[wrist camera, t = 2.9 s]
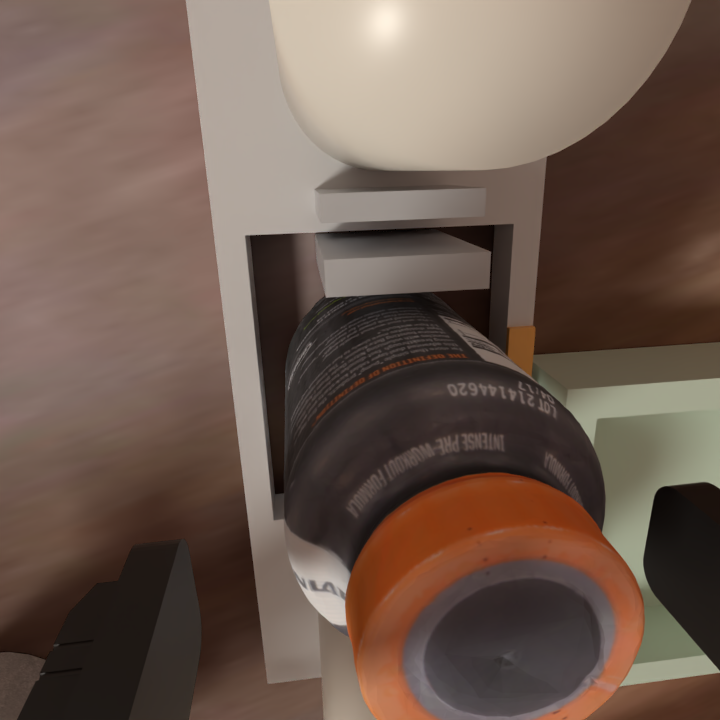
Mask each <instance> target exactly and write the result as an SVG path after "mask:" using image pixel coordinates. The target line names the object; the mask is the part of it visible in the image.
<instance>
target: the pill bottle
mask: <svg viewBox="0 0 720 720" xmlns="http://www.w3.org/2000/svg"><path fill="white" fill-rule="evenodd" d="M285 373H286V379H285V452H284V456H285V458H284V463H285V464H284V531H285V540H286V547H287V552H288V556H289V560H290V563H291V566H292V569H293V572H294V574H295V577H296V579H297V581H298V583H299V585H300V587H301V589H302V591H303V592H304V594H305V595H306V597H307V599H308V600H309V602H310V603H311V604H312V605H313V606H314V607H315V608H316V610H317V611H318V612H319V613H320V614H321V615H322V616H324V617H325V618H326V619H327V620H328V621H329V622H330V623H331V625H332V626H333V627H335V628H336V629H337V630H338V631H340V632H341V633H343V634H344V635H346V636H348V637H349V638H350V640H351V643H352V647H353V654H354V663H355V668H356V673H357V677H358V682H359V686H360V690H361V693H362V696H363V699H364V701H365V703H366V704H367V706H368V708H369V710H370V711H371V713H372V714H373V716H374V717H375V718H376V719H377V720H584V719H586V718H587V717H588V716H589V715H591V714H592V713H593V712H594V711H596V710H597V709H598V708H599V707H600V706H601V705H603V704H604V703H605V702H606V701H607V700H608V699H609V698H610V697H611V696H612V695H613V694H614V692H615V691H616V690H617V689H618V687H619V686H620V685H621V683H622V682H623V681H624V679H625V678H626V676H627V675H628V673H629V671H630V669H631V667H632V665H633V663H634V660H635V658H636V656H637V653H638V651H639V648H640V646H641V643H642V639H643V635H644V625H645V615H644V601H643V597H642V594H641V591H640V588H639V585H638V583H637V580H636V578H635V576H634V574H633V573H632V571H631V570H630V568H629V566H628V565H627V563H626V562H625V561H624V559H623V558H622V557H621V556H620V554H619V553H618V552H617V551H616V550H615V548H614V547H613V546H612V545H611V544H610V543H609V541H608V540H607V539H606V538H605V537H604V535H603V534H602V529H603V524H604V518H605V503H606V495H605V485H604V479H603V474H602V469H601V465H600V462H599V459H598V457H597V454H596V452H595V450H594V447H593V445H592V443H591V441H590V439H589V437H588V436H587V434H586V433H585V431H584V430H583V428H582V426H581V424H580V423H579V422H578V421H577V420H576V418H575V417H574V416H573V414H572V413H571V412H570V411H569V410H568V409H567V408H565V407H564V406H563V405H562V404H561V403H560V401H558V400H557V399H556V398H555V397H554V396H552V395H551V394H550V393H549V392H548V391H547V390H546V389H545V388H544V387H542V386H541V385H540V384H538V383H537V382H536V381H535V380H534V379H533V378H532V377H531V376H529V375H528V374H527V373H526V372H524V371H523V370H522V369H521V368H520V367H519V366H518V365H516V364H515V363H514V362H513V361H512V360H511V359H510V358H509V357H508V356H507V355H506V354H505V353H504V352H503V351H501V349H500V348H499V347H497V346H496V345H495V344H493V343H492V342H491V341H489V340H488V339H487V338H486V337H484V336H483V335H482V334H480V333H479V332H478V331H477V330H476V329H475V328H474V327H472V326H471V325H470V324H469V323H467V322H466V321H465V320H464V319H463V318H462V317H460V316H459V315H458V314H457V313H456V312H455V311H454V310H453V309H451V308H450V307H449V306H448V305H447V304H446V303H445V302H444V301H442V300H441V299H440V298H438V297H437V296H436V295H434V294H433V293H431V292H418V293H400V294H382V295H364V296H346V297H328V298H326V296H325V297H324V298H322V299H321V300H320V301H318V302H317V303H316V304H315V306H314V307H313V308H312V310H311V311H310V312H309V313H308V314H307V315H306V316H305V317H304V318H303V320H302V321H301V322H300V324H299V326H298V328H297V330H296V332H295V334H294V336H293V338H292V340H291V342H290V345H289V349H288V354H287V359H286V367H285Z"/></svg>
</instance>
